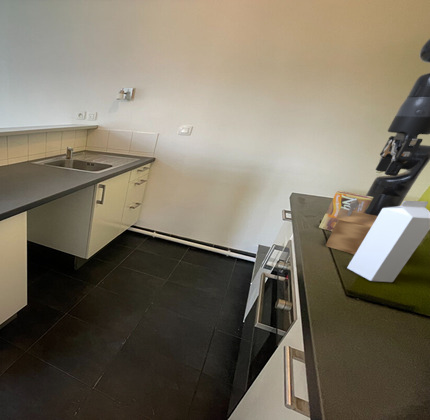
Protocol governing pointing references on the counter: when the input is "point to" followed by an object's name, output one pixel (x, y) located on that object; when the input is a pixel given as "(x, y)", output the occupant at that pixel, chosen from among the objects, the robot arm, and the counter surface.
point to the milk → (391, 241)
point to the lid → (356, 215)
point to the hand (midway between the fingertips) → (385, 173)
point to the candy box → (343, 207)
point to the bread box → (347, 236)
